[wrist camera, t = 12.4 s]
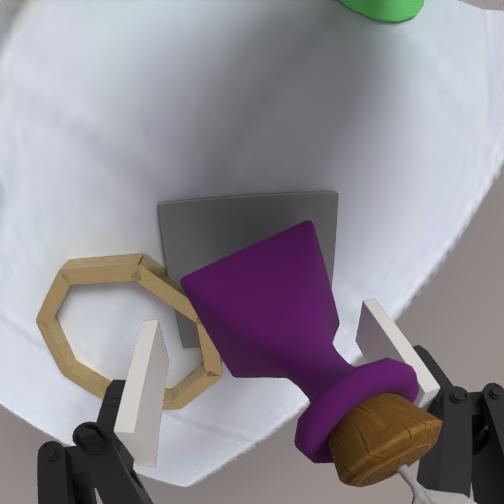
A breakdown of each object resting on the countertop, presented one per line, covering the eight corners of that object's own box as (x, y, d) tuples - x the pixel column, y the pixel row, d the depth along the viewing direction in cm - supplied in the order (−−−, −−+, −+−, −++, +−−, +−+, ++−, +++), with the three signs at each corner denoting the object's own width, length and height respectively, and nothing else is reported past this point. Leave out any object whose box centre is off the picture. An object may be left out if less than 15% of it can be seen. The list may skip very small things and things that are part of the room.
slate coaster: (183, 342, 23) (183, 348, 22) (159, 202, 18) (157, 204, 17) (324, 329, 23) (326, 334, 23) (334, 191, 19) (338, 193, 18)
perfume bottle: (175, 257, 18) (280, 635, 1) (287, 207, 19) (593, 388, 2) (223, 348, 21) (335, 601, 4) (317, 302, 22) (502, 491, 5)
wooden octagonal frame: (84, 393, 24) (80, 404, 23) (26, 263, 18) (16, 272, 17) (226, 394, 25) (227, 407, 24) (207, 248, 20) (206, 258, 18)
